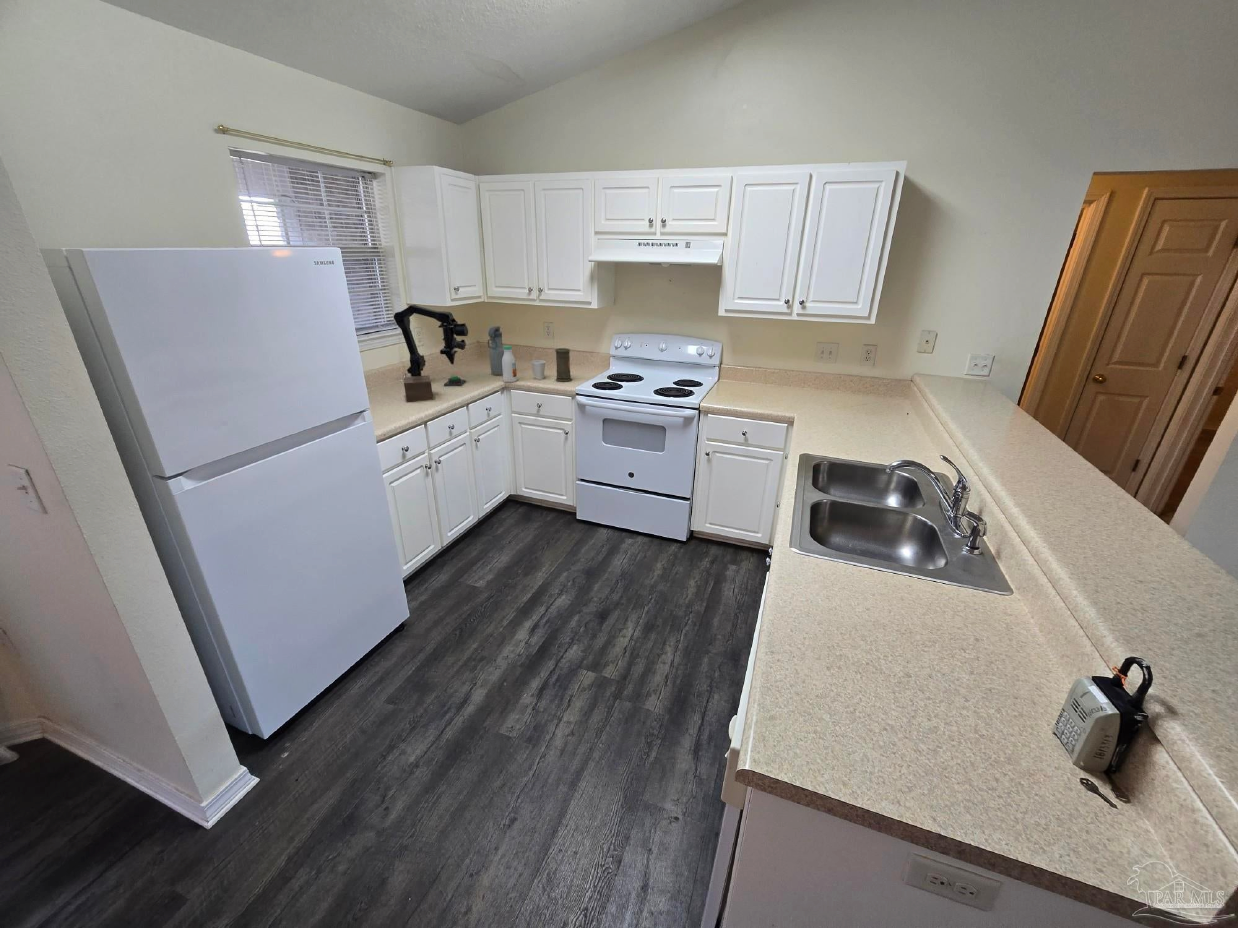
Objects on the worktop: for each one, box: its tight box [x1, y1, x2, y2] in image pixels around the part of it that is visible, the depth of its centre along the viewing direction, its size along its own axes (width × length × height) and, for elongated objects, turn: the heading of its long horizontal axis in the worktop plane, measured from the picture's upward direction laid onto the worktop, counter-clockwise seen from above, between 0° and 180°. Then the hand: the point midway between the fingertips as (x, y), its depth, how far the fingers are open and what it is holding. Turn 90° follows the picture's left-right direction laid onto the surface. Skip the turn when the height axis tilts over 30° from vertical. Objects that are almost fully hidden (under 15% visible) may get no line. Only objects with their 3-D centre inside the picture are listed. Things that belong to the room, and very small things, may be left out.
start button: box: [450, 375, 459, 379], centre depth 288 cm, size 4×4×2 cm
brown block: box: [403, 374, 434, 403], centre depth 261 cm, size 14×13×10 cm
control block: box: [443, 376, 466, 387], centre depth 289 cm, size 11×9×3 cm
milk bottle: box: [502, 345, 518, 383], centre depth 293 cm, size 8×8×20 cm
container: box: [554, 347, 572, 383], centre depth 295 cm, size 9×9×18 cm
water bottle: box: [487, 325, 504, 376], centre depth 307 cm, size 10×10×28 cm
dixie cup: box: [530, 359, 547, 380], centre depth 301 cm, size 8×8×10 cm
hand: (452, 364), depth 285 cm, fingers closed
